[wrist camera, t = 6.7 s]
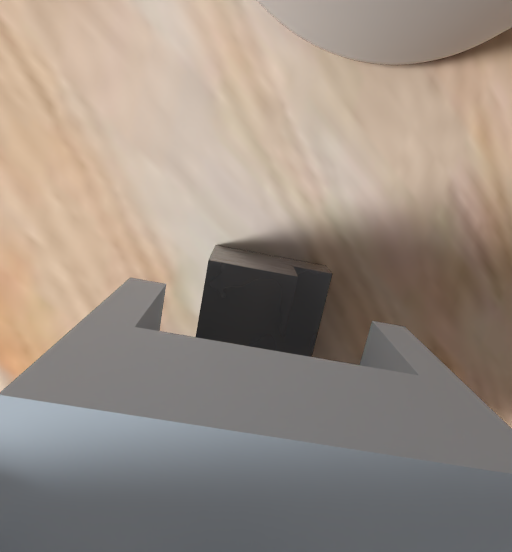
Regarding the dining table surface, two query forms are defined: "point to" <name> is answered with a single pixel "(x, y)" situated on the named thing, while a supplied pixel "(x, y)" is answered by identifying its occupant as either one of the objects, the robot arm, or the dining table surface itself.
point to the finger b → (245, 446)
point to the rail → (262, 301)
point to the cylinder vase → (393, 26)
